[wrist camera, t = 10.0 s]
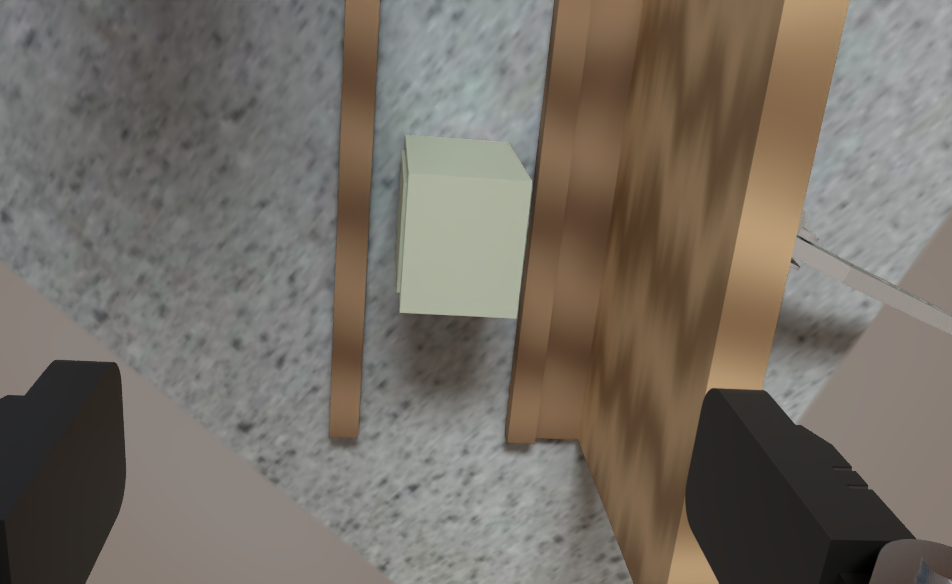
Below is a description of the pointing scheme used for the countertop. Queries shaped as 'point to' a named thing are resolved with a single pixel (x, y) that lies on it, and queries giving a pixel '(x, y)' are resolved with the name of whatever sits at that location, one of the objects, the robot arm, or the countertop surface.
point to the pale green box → (461, 227)
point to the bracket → (866, 281)
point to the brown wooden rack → (632, 235)
